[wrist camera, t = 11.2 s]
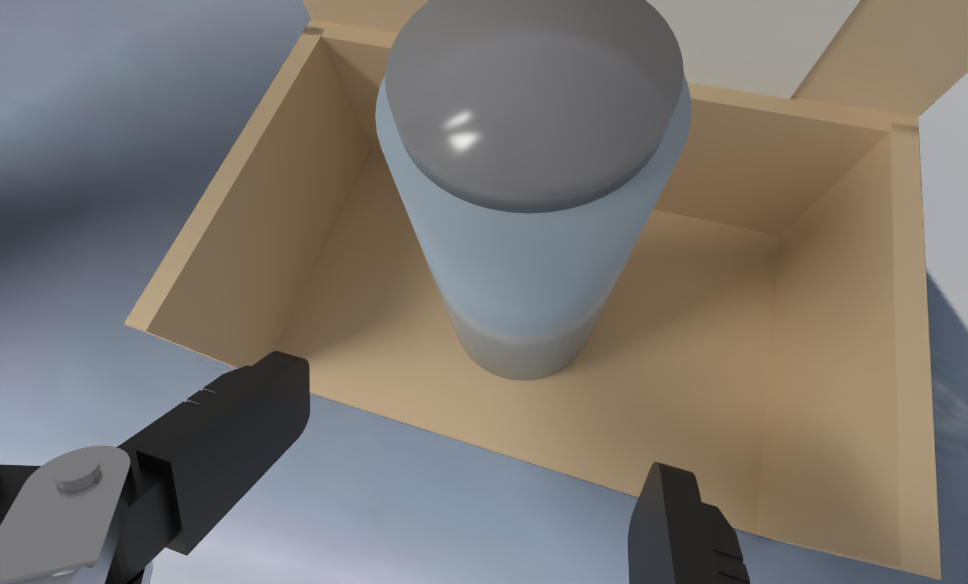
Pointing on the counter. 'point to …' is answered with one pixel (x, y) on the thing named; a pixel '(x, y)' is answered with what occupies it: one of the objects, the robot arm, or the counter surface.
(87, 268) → the counter surface
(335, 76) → the mailer
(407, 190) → the canister
